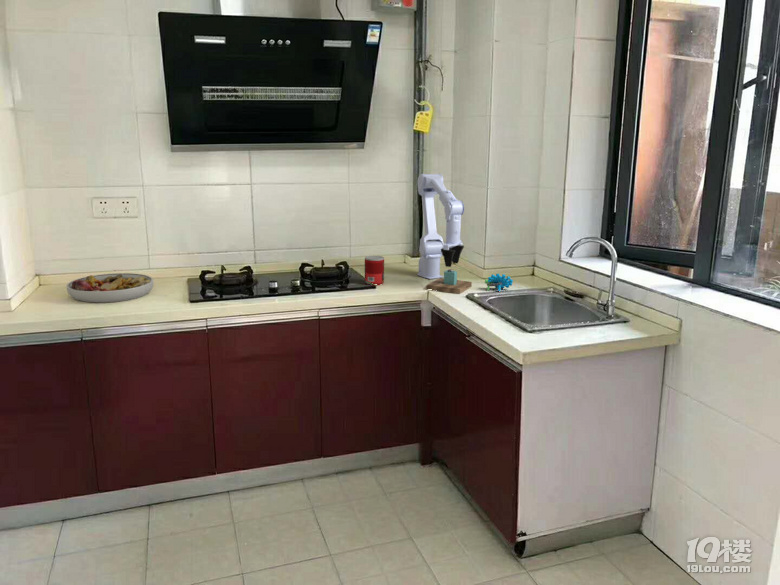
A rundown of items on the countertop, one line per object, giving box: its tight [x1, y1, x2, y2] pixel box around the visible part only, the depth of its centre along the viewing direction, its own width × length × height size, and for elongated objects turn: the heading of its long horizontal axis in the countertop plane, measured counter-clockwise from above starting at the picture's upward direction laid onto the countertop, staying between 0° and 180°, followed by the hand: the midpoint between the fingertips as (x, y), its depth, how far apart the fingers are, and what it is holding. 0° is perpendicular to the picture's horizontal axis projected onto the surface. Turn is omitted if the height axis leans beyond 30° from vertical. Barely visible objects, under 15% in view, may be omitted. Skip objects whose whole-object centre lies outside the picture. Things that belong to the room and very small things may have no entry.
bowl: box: [66, 272, 154, 304], centre depth 242 cm, size 30×30×8 cm
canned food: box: [364, 255, 385, 286], centre depth 264 cm, size 8×8×11 cm
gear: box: [484, 273, 514, 292], centre depth 256 cm, size 11×6×10 cm
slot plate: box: [426, 277, 473, 295], centre depth 259 cm, size 14×14×2 cm
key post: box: [443, 269, 458, 285], centre depth 259 cm, size 4×3×8 cm
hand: (451, 264), depth 259 cm, fingers open, 7 cm apart
